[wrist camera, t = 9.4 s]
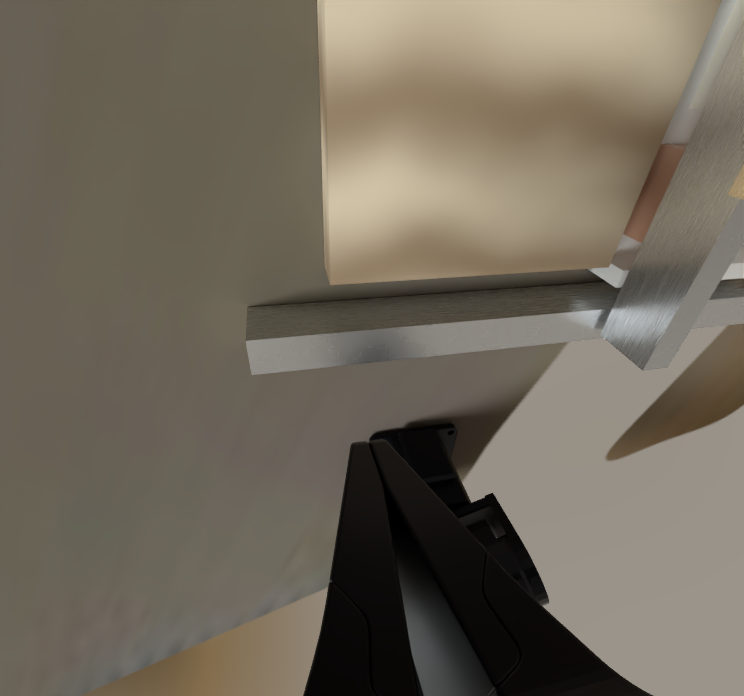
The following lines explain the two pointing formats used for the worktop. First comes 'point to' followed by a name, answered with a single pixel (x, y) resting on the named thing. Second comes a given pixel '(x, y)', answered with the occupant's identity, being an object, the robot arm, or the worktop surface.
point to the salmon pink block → (654, 190)
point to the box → (678, 134)
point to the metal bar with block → (688, 231)
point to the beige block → (719, 56)
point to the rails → (444, 324)
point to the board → (492, 129)
